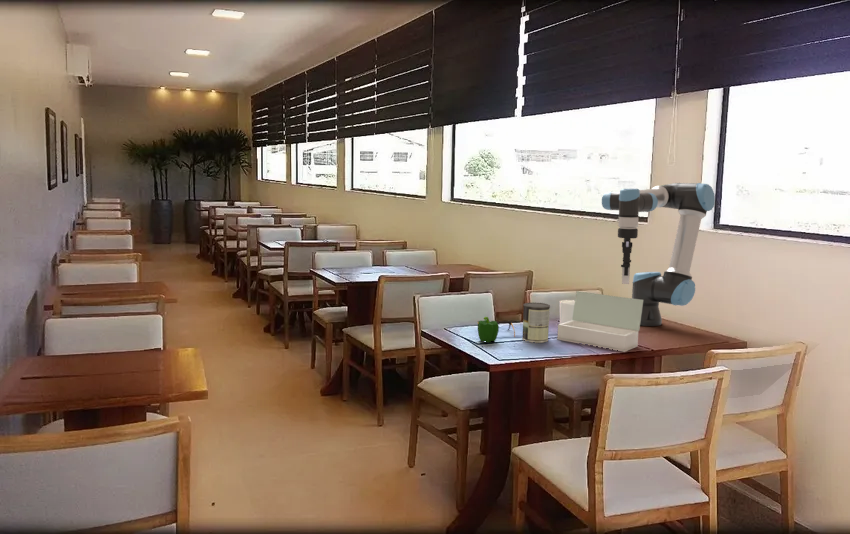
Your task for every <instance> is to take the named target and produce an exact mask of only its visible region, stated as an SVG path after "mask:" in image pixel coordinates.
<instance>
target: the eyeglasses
mask: <svg viewBox="0 0 850 534" xmlns="http://www.w3.org/2000/svg"><path fill="white" fill-rule="evenodd" d="M479 321H480V320H478V321H477V323H478V322H479ZM496 322H497V323H508V329H507V331H509V330H510V329H511V327H512V329H513V334H514V335H513V336H514V338H516V330H515V328H514V325H513V323H512V322H511V321H505V320H503V321H496Z"/></svg>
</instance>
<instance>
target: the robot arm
mask: <svg viewBox="0 0 850 534" xmlns="http://www.w3.org/2000/svg"><path fill="white" fill-rule="evenodd" d="M715 201H716V197H715V191H714V189H713V188H712V186H711V185H710V184H708V183H701V182H691V183H690V182H675V183H674V182H673V183H667V184H663V185H656V186H654V187H652V188H646V189H645V188H644V189H639V188H621V189H620V190H619V191H607V192H605V193H603V195H602V196H601V206H602V208H603V209H604V210H607V211H608V210H609V211H618V218H617V219H616V222H618V223H617V224H618V225H617V226H618V227H619V228H617V237H618V238H619V239H623V241H622V242H621V247H622V250H621V251H622V255H623V256H622V264H620V268H621V269H622V270H621V271H622V273H621V284H622V285H629V284H630V273H631V272H630V270H631V263H632V259H631V254H632V248H633V242H632V241H631V239H638V236H639V235H638V232H639V230H638V228H639V213H649V212H652V211H655V209H656V208H664V209H665V208H667V209H674V210H677V213H678V214H679V215H680V216H679V221H678V226H677V230H676V235H675V239H674V242H673V243H674V244H673V247H672V253H671V257H670V260H669V261H670V262H669V264H668V265H669V267H668V268H667V269H665V270H664V271H663V275H662V273H661V272H660V271H645V272H644V271H642V272H636V273H634V275H633V279H632V289H631V290H632V292H631V293H632V294H631V298H632V299H640V300H643V306H642V314H641V321H640V326H644V327H655V326H656V327H657V326H661V325H662V322H663V321H662V320H663V319H662V315H661V312H660V308H659V304H660V303H662V304H668V305H673V306H681V307H684V306H687V305H688V304H689V303H690V302H691V301H692V299H693V298H694V296H695V294H696V283H695V281H694V280H692V279H693V276H692V274H691V273H690V272H691V267H692V262H693V258H694V253H695V250H696V245H697V241H698V235H699V231H700V226H701V222H702V219H704V218H705V217H706V216H707V213H708V212H710V211H712V210H713V208H714V207H715V204H716V202H715Z"/></svg>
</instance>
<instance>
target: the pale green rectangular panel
mask: <svg viewBox="0 0 850 534" xmlns="http://www.w3.org/2000/svg"><path fill="white" fill-rule="evenodd" d="M574 300H575V304H574V312H573V319H572V320H575V321H581V322H586V323H592V324H598V325H604V326H610V327H616V328H623V329H629V330H635V331H638V332H639V331H640V328H641V325H640V321H641V314H642V306H643V300H640V299H632V297H631V298H630V297H624V296H616V295H609V294H608V295H607V294H600V293H595V292H587V291H578V290H576V291H575V298H574Z"/></svg>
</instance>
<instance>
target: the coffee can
mask: <svg viewBox="0 0 850 534" xmlns="http://www.w3.org/2000/svg"><path fill="white" fill-rule="evenodd" d="M550 308H551V305H550V304H548V303H545V302H544V303H543V302H526V303H523V314H522V315H523V316H522V318H523V319H522V339H523V341H524V340H525V341H524V342H527V341H529V342H528V343H533V342H535V343H536V344H537V343H538V344H539V343H540V344H541V343H543V344H544V343H546V342H548V341H549V330H550V329H549V328H550V327H549V326H550V325H549V324H550ZM535 343H534V344H535Z"/></svg>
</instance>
